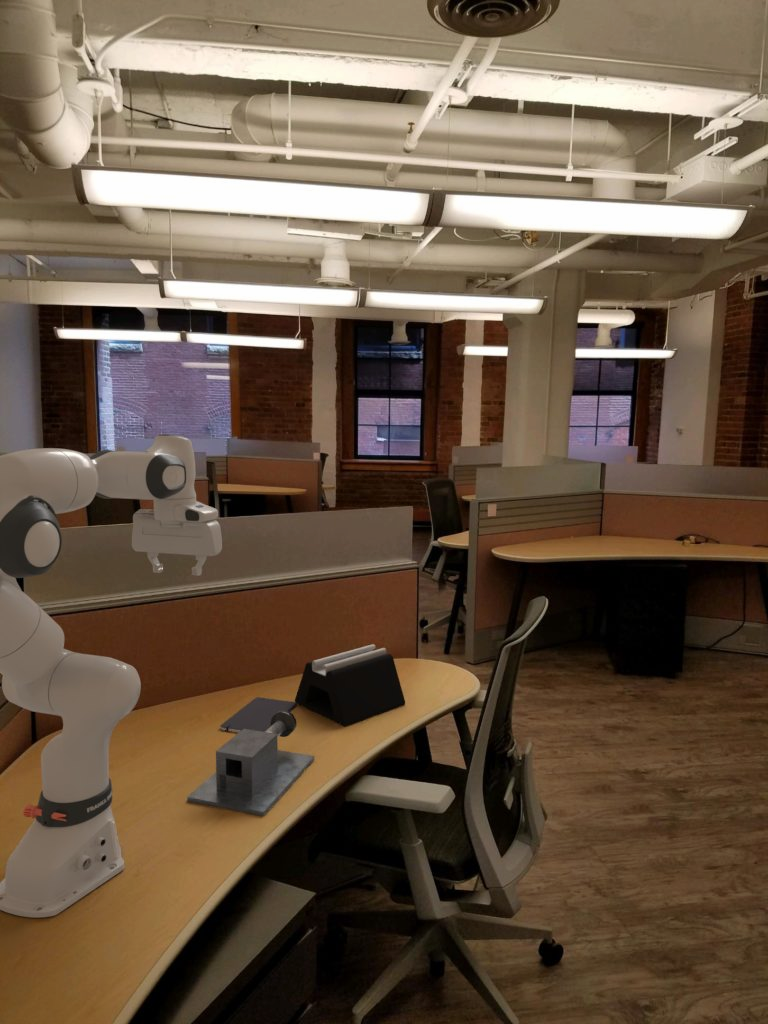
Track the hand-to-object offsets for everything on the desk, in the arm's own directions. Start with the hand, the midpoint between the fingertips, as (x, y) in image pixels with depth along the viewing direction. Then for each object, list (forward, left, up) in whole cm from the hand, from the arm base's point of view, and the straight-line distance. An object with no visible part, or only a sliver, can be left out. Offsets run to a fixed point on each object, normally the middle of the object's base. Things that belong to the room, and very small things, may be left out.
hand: (177, 573), depth 154 cm
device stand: (+53, -20, -48) cm, 74 cm away
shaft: (+11, -15, -43) cm, 47 cm away
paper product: (+36, 0, -48) cm, 60 cm away
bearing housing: (+5, -15, -47) cm, 50 cm away
